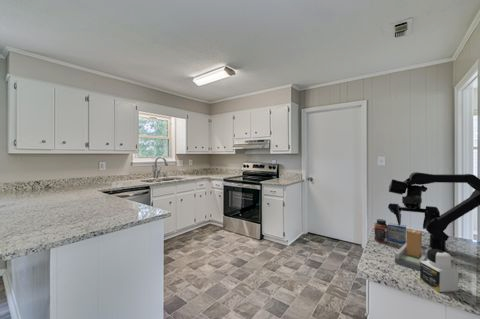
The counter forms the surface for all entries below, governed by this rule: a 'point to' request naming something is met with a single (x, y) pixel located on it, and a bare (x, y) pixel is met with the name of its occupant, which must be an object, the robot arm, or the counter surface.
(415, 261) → the fader console
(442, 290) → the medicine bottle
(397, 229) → the medicine box
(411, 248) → the fader knob
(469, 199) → the robot arm
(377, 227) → the supplement bottle
